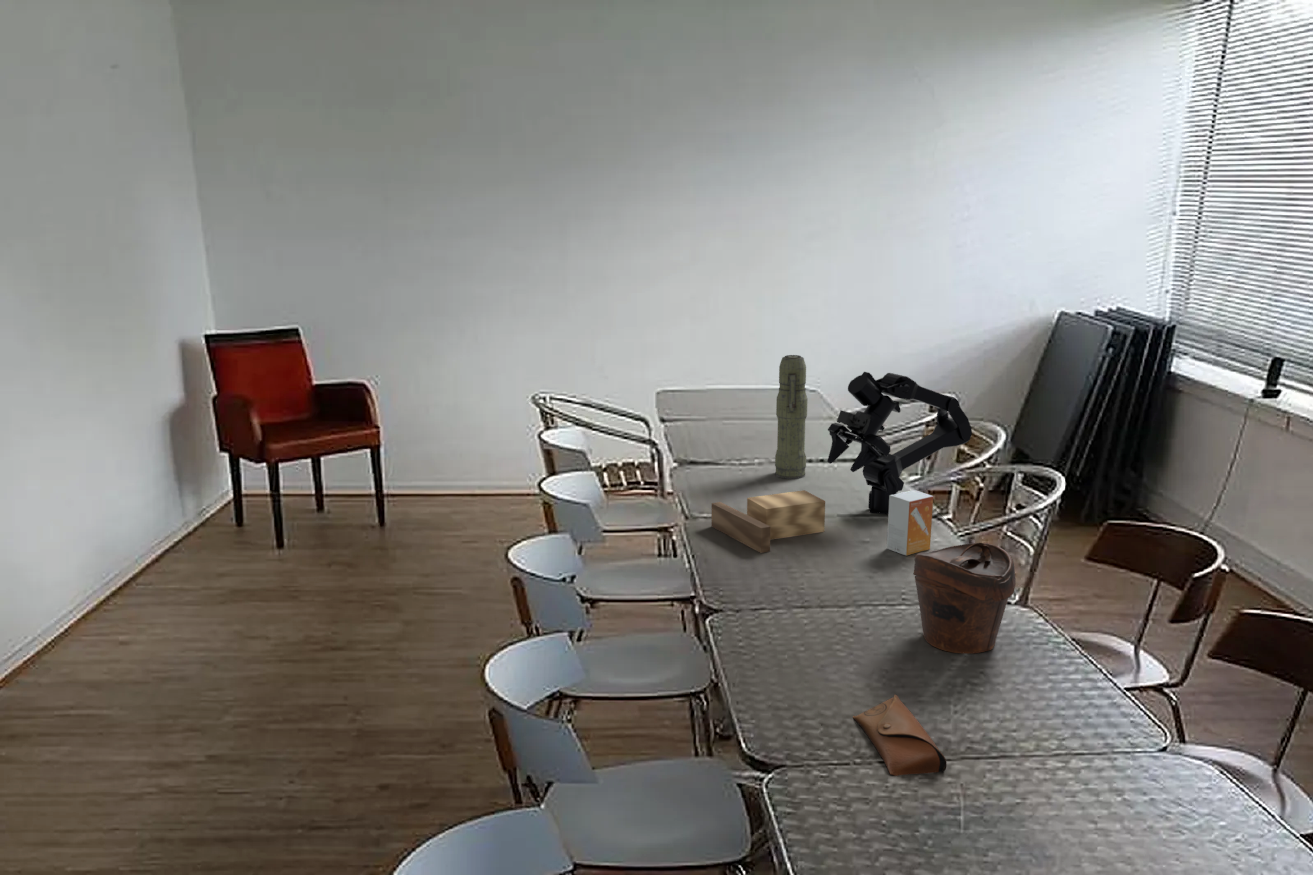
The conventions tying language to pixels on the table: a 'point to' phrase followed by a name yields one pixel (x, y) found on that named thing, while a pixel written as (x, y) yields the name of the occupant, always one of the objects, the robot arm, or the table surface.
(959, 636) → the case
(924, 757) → the sunglasses case
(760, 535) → the walnut board
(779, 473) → the thermos
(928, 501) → the small box
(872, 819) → the table surface
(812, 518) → the oak block
